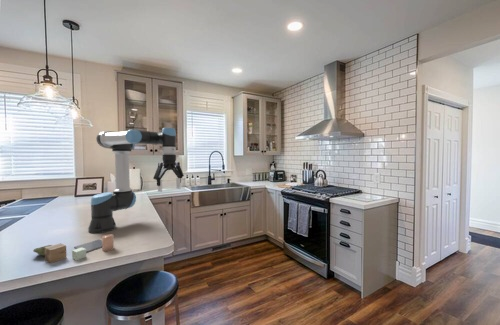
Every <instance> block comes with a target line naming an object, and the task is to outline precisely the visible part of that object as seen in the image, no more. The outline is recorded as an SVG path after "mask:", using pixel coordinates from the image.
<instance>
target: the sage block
mask: <svg viewBox="0 0 500 325" xmlns="http://www.w3.org/2000/svg"><path fill="white" fill-rule="evenodd" d="M71 258H72V259H73V260H75V261H78V260H82V259H84V258H87V253H86V249H85V248H82V247H81V248H78V249H75V248H74V249H72V250H71Z"/></svg>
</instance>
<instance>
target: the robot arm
mask: <svg viewBox="0 0 500 325" xmlns="http://www.w3.org/2000/svg"><path fill="white" fill-rule="evenodd" d="M176 132H177V131H176V129H175V128H173V127H163V128H162V130H161V131H151V130H150V131H149V130H148V131H147V130H142V129H141V130H140V129H139V130H138V129H128V130H125V131H109V130H103V131H100V132H99V133H98V134H97V135H96V140H95V141H96V143H97V144H98V146H100V147H102V148H104V149H109V150H112V154H114V166H115V168H114V170H115V171H114V174H115V188H114V189H113V190H112V192H101V193H98V194H94V195H93V196H91V198H90V212H91V216H90V218H91V219H90V222H89V225H88V228H87V232H88V233H91V234H102V233H107V232H111V231H113V230H115V229H116V228H117V224H116V221H115V219H114V215H113V213H114V212H116V211H122V210H127V209H130V208H133V206H134V205H135V204H136V201H137V196H136V193H135V192H134V191H133V189H132V188H131V187H130V185H131V184H130V182H131V180H130V153H132V150H133V149H135V145H138V144H139V145H142V144H143V145H154V146H158V145H162V146H161V147H162V148H161V150H162V152H161V154H162V161H163V162H158V164H157V168H156V170H155V173H154V176H153V180H156V186H157V192H159V193H162V192H163V180H162V178H163V177H164V175H165V174H166V172H168V171H173V173H174V175H175V176H176V179H175V180H176V182H175V183H176V185H175V186H176V188H175V189H179V190H180V189H181V183H182V178H184V175H185V174H184V173H183V170H182V167H181V163H180V161H177V155H176V154H177V138H176V137H177V134H176Z"/></svg>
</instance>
